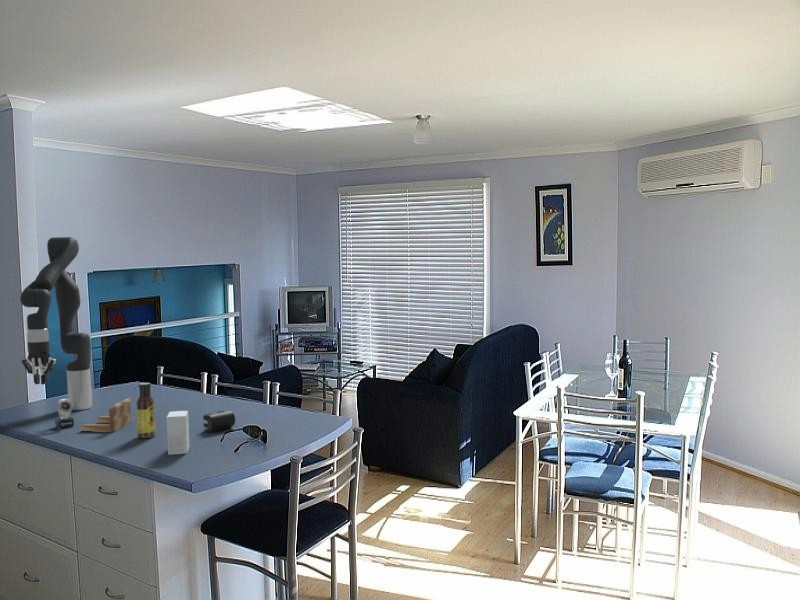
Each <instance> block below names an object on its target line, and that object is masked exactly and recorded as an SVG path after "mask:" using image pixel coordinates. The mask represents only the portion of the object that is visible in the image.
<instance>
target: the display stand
mask: <svg viewBox="0 0 800 600" xmlns="http://www.w3.org/2000/svg"><path fill="white" fill-rule="evenodd" d="M131 401H133V397H128V398H126V399H124V400H121V401H120V402H117V403H116V404H112V406H111V407H110V408H108V409H109V410H108V411H109V412H108V414H109V415H107V416H104V415H100V416H97V424H96V423H95V424H93V423H91V424H87V423H86V424H85V423H84V424H80V432H81V431H92V432H91V433H114V432H116V431H119V430H120V429H122V428H124V427H126V426H127V425H129V424H131V423H132V414H131V413H132V412H131V411H132V410H131V407H132V406H131Z"/></svg>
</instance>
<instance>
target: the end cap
mask: <svg viewBox="0 0 800 600" xmlns="http://www.w3.org/2000/svg"><path fill="white" fill-rule="evenodd" d="M203 420H204V421H206V422H203V423H202V424H203V427H204V432H206V433H216V432H219V431H223V430H226V429H227V430H228V429H232V427H234V425H235V424H236V417H235V414H234V412H233V411H232V410H227V411H225V410H221V411H217V412H216V413H210V412H209V413H207V414H206V413H205V414H203Z"/></svg>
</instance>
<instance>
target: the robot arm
mask: <svg viewBox="0 0 800 600" xmlns="http://www.w3.org/2000/svg"><path fill="white" fill-rule="evenodd" d="M46 246H47V254H48V259H49V263H47V265H45V266H44V267H43V268H42V269H40V271H39V273H38V274H37V276H36V277H35V279H34V280H33V281H32V282H31V283H30V284H29V285H27V286H26V287H25V288H24V289H23V291H22V292H21V294H20V297H19V298H20V299H19V300H20V303H21V305H22V306H24V307H25V308H38V309H37V311H36V312H33V313H29V314H28V315H27V317H26V327H27V329H26V341H27V342H26V343H27V353H28V355H27V357H26V358H25V359H22V360H21V363H22V366H23V367H24V368H25V369H26V372H27V373H28V374H32V377H33V383H34V385H40V384H41V385H46V384H47V382H48V374H50V373H52V371H53V369H54V367H55V366H56V363H57V362H58V359H57V358H52V357H51V354H50V333H49V329H48V327H49V326H48V325H49V324H48V317H49V311H50V306H51V303H52V294H51V291H52V290H53V288H54V291H55V292H54V293H55V300H56V305H57V311H58V319H59V338H60V347H61V349H62V351H63V353H64V354H66V355H77V357H76V359H75V360H73V361H69V362H68V363H67V364H66V380H67V382H66V383H67V400H69V401H70V402H71V403H72V405H73V407H72V410H71V411H81V410H82V411H83V410H87V409H91V408H92V407H93V392H92V389H93V388H92V384H91V383H92V382H91V360H92V352H91V351H92V343H91V342H92V340H91V336H90V335H89V334H88V333H86V332H73V322H74V319H75V317H76V315H77V313H78V310H79V309H80V306H81V296H80V295H81V293H80V289H79V285H77V282H75V280H74V279H73V277H71V275H69V273H68V272H67V271H66V269H67V268H68V267H69V266H70V264H71V263H72V262H73V261H74V260H75V259H76V258H77V256H78V254H79V250H80V246H79V243H78V240H77V239H76V238H75V237H71V236H63V237H61V236H60V237H58V236H57V237H56V236H55V237H51V238H50V237H49V239H48V241H47V244H46Z"/></svg>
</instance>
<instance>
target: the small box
mask: <svg viewBox="0 0 800 600" xmlns="http://www.w3.org/2000/svg"><path fill="white" fill-rule="evenodd" d="M189 423H190V422H189V411H188V410H175V411H174V410H173V411H169V412H168V414H167V416H166V435H167V436H166V438H167V455H169V456H171V455H172V456H173V455H182V454H183V455H185V454H188V452H189V449H190V433H189V432H190V431H189V430H190V429H189V427H190V426H189V425H190V424H189Z"/></svg>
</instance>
